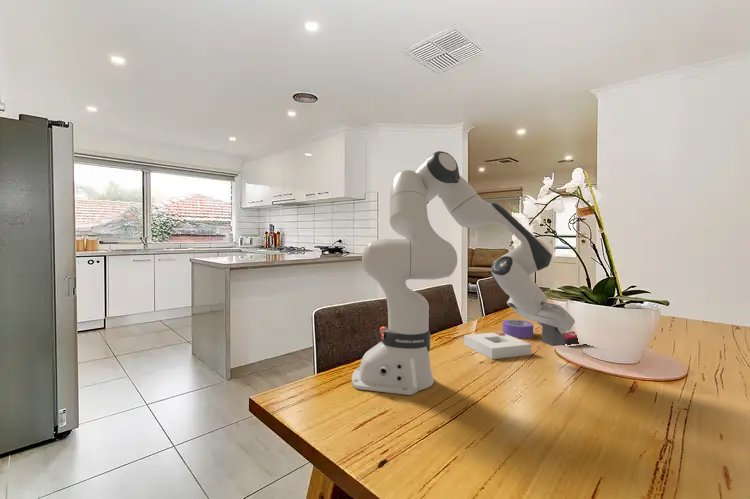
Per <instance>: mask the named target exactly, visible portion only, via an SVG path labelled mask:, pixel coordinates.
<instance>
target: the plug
mask: <svg viewBox="0 0 750 499" xmlns="http://www.w3.org/2000/svg"><path fill="white" fill-rule="evenodd" d="M541 329H542V332H541V338H542V339H541V342H542V343H544V344H546V345H549V346H552V347H558V346H564V345H565V332H564V334H561V333H558V331H557V330H556V329H557V328H556V327H554V326H550V325H547V324H543V323H542V328H541Z"/></svg>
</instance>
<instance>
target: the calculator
mask: <svg viewBox="0 0 750 499" xmlns="http://www.w3.org/2000/svg"><path fill="white" fill-rule="evenodd" d="M573 328H574V327H572V328H571V329H570V330H566V331H565V344H567V345H571V344H579V342H578V338H577V335H576V334H575V332H574V330H573Z"/></svg>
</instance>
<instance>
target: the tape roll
mask: <svg viewBox="0 0 750 499" xmlns="http://www.w3.org/2000/svg"><path fill="white" fill-rule="evenodd" d="M502 332H504V333H505V334H507V335H509V336H512V337H518V338H517V339H531V337H532V338H533V337H534V323H533V322H532V321H531V322H530V321H529V320H524V319H523V320H522V319H504V320H503V321H502Z"/></svg>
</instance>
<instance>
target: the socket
mask: <svg viewBox="0 0 750 499" xmlns="http://www.w3.org/2000/svg"><path fill="white" fill-rule="evenodd" d="M463 337H464V340H463V341H464V343H463V344H464V346H466V347H467V346H468V348H469V347H470V348H469V349H471V348H472V349H471V350H473V349H474V350H473V351H475V352H477V353H478V354H480V355H483V356H485V357H487V358H488V359H491V360H498V359H505V358H514V357H516V358H517V357H523V356H524V357H525V356H531V355H532V343H529V342H527V341H524V340H522V339H520V338H514V337H512V336H509V335H507V334H505V333H504V332H503V331H501V330H494V331H493V332H487V333H486V332H485V333H476V334H475V333H474V334H464V336H463Z"/></svg>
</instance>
